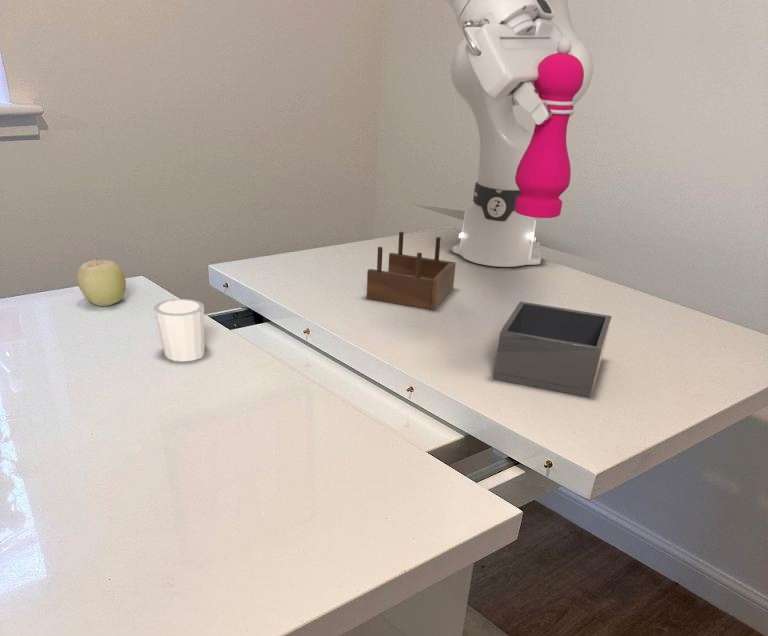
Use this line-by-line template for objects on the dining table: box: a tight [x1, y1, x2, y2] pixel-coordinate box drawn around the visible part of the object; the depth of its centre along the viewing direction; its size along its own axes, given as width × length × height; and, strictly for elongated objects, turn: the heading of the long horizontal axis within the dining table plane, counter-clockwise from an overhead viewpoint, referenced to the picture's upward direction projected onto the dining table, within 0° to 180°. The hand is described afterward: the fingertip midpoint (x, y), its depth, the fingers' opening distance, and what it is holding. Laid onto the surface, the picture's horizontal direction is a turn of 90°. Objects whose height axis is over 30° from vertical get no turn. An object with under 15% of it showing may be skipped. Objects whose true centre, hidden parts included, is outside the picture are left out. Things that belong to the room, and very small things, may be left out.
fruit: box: [76, 254, 127, 307], centre depth 117 cm, size 8×7×8 cm
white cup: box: [153, 298, 206, 362], centre depth 102 cm, size 7×7×7 cm
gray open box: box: [493, 301, 612, 398], centre depth 103 cm, size 14×14×7 cm
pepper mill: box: [514, 38, 584, 219], centre depth 92 cm, size 7×7×20 cm
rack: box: [366, 231, 457, 311], centre depth 127 cm, size 12×12×9 cm
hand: (557, 119), depth 91 cm, fingers closed on pepper mill, 5 cm apart
